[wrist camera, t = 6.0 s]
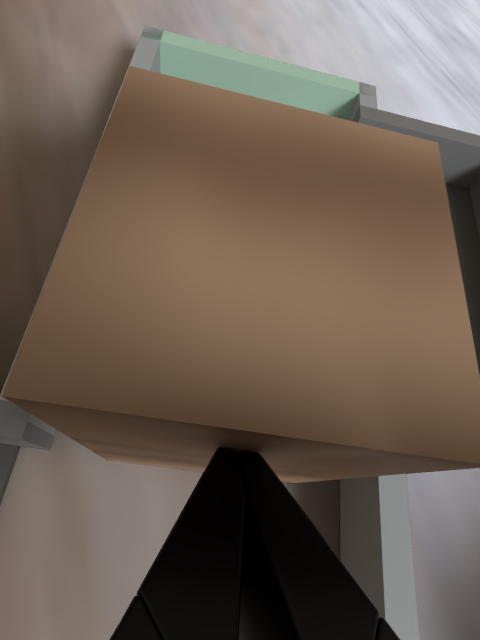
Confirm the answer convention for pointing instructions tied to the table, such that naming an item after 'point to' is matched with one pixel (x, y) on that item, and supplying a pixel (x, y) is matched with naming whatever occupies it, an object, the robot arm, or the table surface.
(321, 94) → the bent walled tray
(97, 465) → the table surface
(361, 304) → the walnut block
